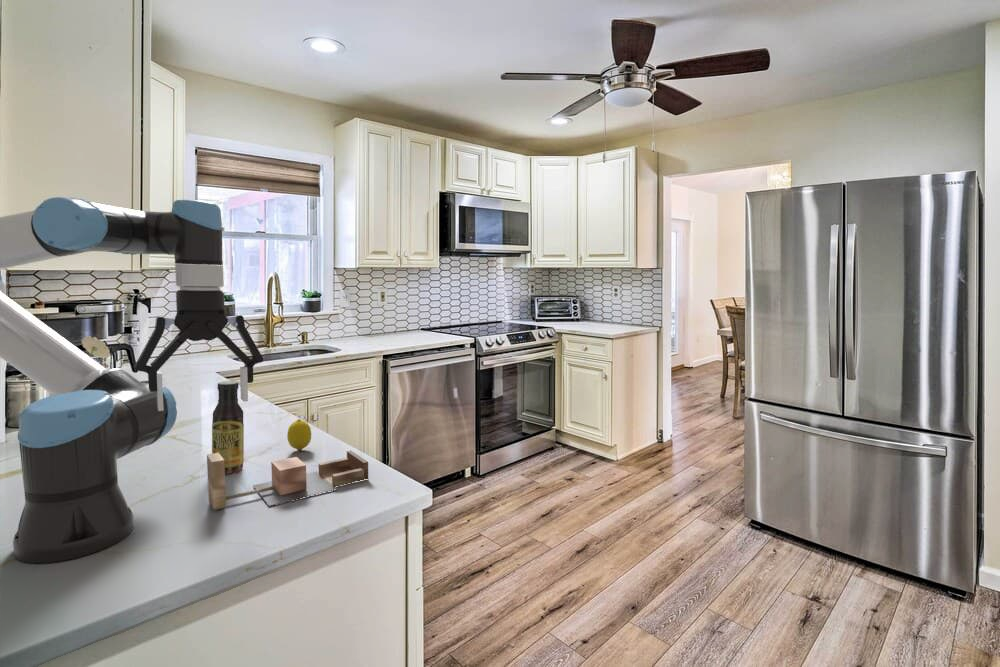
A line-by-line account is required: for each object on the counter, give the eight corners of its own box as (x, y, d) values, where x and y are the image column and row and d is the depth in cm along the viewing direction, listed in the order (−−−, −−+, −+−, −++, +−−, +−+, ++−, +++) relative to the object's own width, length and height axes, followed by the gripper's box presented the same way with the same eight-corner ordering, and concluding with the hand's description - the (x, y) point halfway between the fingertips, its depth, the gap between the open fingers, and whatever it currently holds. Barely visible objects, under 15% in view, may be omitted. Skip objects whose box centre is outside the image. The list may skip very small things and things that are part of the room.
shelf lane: (348, 465, 120) (348, 448, 119) (371, 482, 110) (370, 463, 110) (253, 486, 107) (252, 467, 107) (269, 507, 98) (268, 486, 97)
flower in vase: (131, 420, 154) (126, 336, 151) (84, 430, 144) (78, 340, 141) (111, 414, 160) (106, 333, 158) (65, 422, 151) (59, 336, 148)
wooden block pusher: (297, 479, 110) (296, 438, 109) (306, 489, 105) (305, 445, 104) (208, 499, 100) (206, 453, 99) (214, 511, 95) (212, 463, 94)
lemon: (304, 445, 133) (303, 415, 132) (316, 450, 130) (315, 419, 129) (283, 451, 129) (282, 419, 128) (295, 456, 126) (294, 423, 125)
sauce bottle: (209, 477, 112) (204, 385, 110) (216, 466, 118) (212, 380, 116) (242, 474, 114) (238, 384, 112) (248, 464, 120) (244, 379, 118)
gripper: (268, 288, 105) (270, 392, 107) (113, 287, 90) (120, 408, 92) (278, 290, 99) (280, 400, 101) (114, 289, 84) (121, 418, 86)
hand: (204, 404), depth 96 cm, fingers open, 13 cm apart
